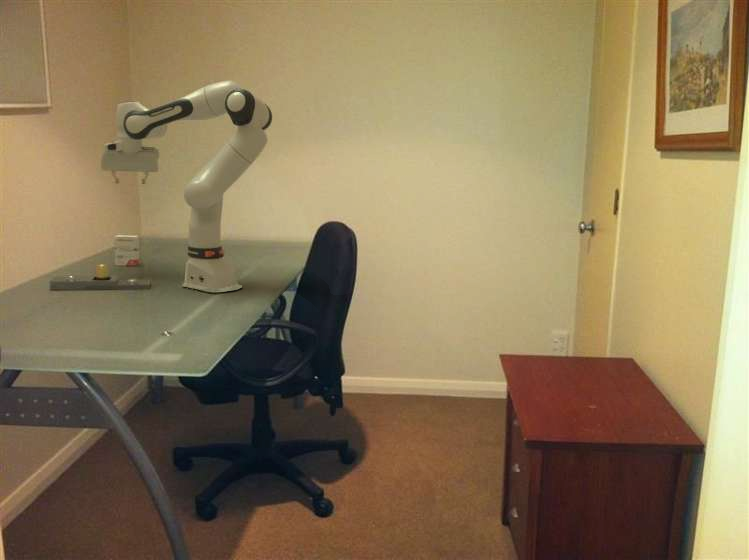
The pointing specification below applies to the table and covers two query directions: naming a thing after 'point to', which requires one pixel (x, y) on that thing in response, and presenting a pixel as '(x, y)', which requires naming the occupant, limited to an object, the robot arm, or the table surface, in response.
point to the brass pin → (101, 272)
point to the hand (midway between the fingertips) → (130, 183)
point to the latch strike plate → (96, 283)
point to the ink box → (126, 250)
